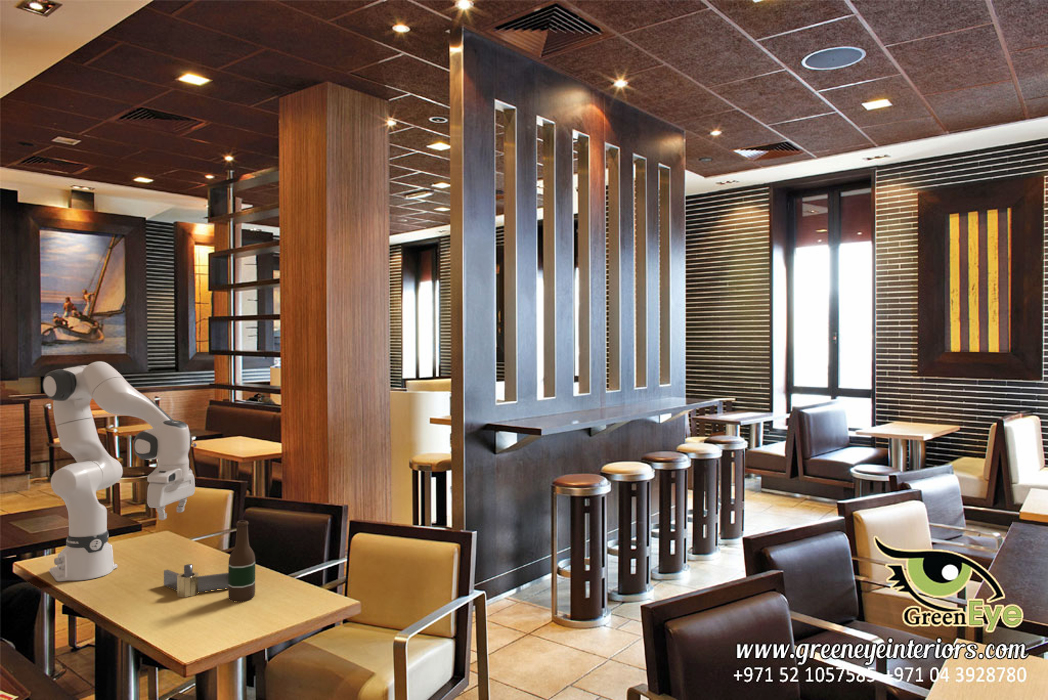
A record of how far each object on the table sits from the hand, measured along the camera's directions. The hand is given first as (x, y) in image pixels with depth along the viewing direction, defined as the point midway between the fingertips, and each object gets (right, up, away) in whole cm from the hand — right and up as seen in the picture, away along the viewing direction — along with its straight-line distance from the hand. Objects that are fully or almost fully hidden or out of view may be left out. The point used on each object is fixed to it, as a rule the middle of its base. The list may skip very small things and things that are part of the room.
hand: (171, 515), depth 218 cm
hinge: (+5, -25, +6) cm, 26 cm away
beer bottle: (+24, -25, -3) cm, 35 cm away
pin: (+5, -25, 0) cm, 25 cm away
